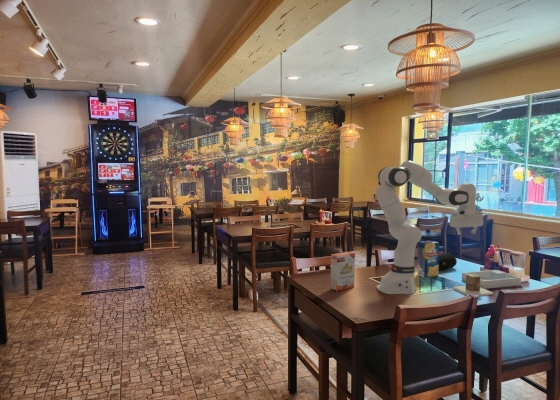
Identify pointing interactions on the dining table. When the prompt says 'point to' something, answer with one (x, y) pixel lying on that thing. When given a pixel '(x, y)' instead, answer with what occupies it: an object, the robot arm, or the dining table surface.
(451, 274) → the dining table surface
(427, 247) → the blue tall cardboard box
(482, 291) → the cream tile
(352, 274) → the cracker box
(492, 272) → the blue-grey block
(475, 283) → the walnut block
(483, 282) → the grey bin
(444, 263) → the portable speaker
